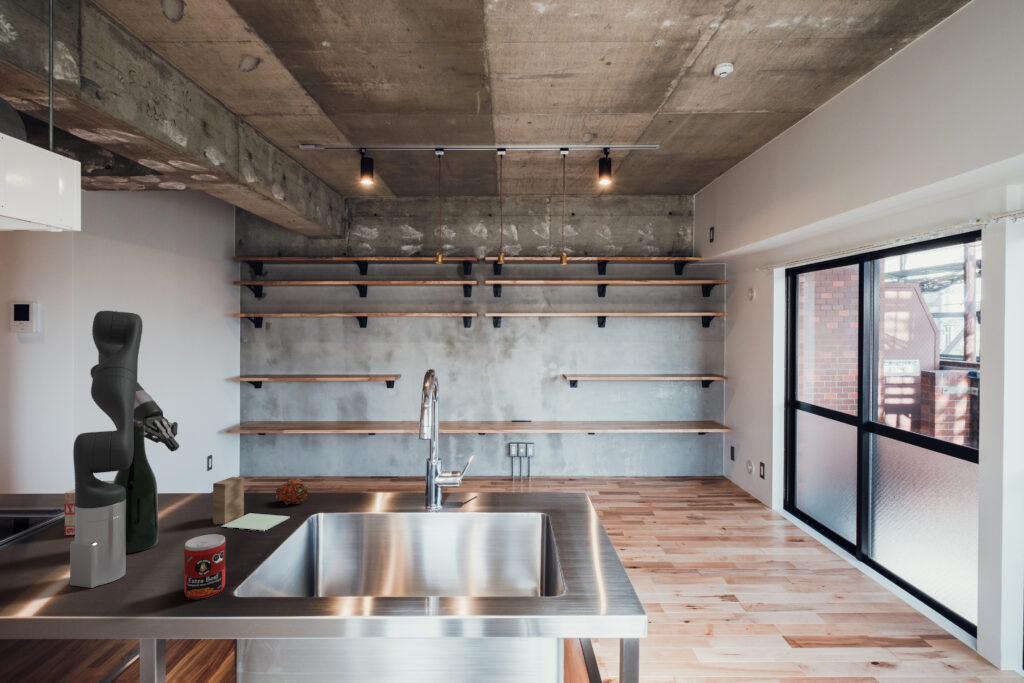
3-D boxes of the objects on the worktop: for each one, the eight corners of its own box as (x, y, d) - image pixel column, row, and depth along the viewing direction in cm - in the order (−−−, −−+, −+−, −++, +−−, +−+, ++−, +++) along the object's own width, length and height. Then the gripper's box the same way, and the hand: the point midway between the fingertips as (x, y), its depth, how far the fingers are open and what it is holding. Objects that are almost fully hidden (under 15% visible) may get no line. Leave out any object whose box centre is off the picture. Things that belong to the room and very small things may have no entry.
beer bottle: (142, 554, 137) (143, 423, 137) (99, 555, 137) (99, 424, 137) (166, 539, 148) (167, 417, 148) (126, 540, 147) (126, 418, 147)
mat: (264, 531, 155) (264, 529, 155) (221, 527, 158) (221, 526, 158) (289, 517, 166) (289, 516, 166) (249, 514, 169) (249, 513, 169)
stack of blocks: (116, 512, 172) (117, 473, 172) (137, 511, 172) (137, 472, 172) (63, 536, 150) (64, 491, 150) (87, 536, 150) (87, 491, 150)
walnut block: (224, 525, 160) (224, 484, 160) (212, 524, 160) (212, 483, 160) (243, 516, 167) (243, 477, 167) (231, 515, 168) (231, 476, 168)
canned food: (181, 603, 112) (181, 549, 112) (187, 586, 120) (187, 536, 120) (223, 596, 115) (223, 544, 115) (226, 580, 123) (226, 532, 123)
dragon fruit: (307, 510, 179) (278, 512, 182) (319, 489, 185) (290, 491, 189) (294, 493, 174) (264, 495, 178) (307, 472, 181) (277, 475, 185)
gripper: (130, 402, 163) (165, 444, 161) (167, 397, 176) (199, 437, 174) (116, 419, 164) (150, 462, 162) (153, 413, 177) (185, 453, 175)
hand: (175, 449), depth 168 cm, fingers closed
